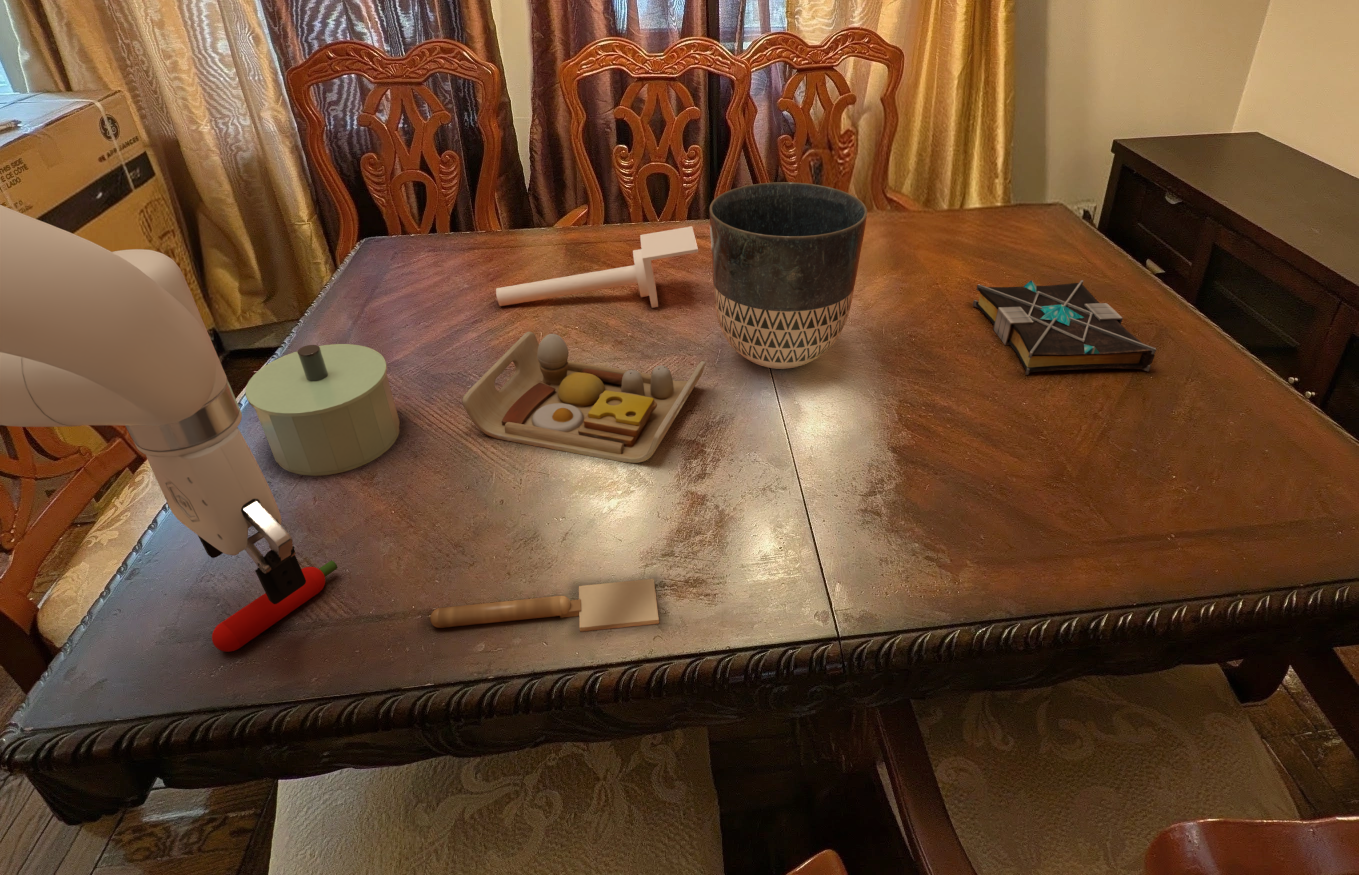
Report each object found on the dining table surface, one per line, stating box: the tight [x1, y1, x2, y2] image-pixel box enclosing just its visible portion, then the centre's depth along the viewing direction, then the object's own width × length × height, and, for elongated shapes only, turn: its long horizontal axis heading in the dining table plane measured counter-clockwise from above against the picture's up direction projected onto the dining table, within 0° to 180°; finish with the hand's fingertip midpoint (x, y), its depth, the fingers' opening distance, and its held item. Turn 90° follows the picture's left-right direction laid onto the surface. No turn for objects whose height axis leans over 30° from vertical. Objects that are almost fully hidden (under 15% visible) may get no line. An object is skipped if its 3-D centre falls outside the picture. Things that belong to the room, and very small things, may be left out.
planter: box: [708, 181, 868, 370], centre depth 106 cm, size 20×20×21 cm
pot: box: [254, 373, 401, 477], centre depth 96 cm, size 15×15×8 cm
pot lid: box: [245, 343, 388, 417], centre depth 92 cm, size 15×15×5 cm
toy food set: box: [461, 331, 707, 464], centre depth 100 cm, size 25×18×8 cm
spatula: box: [429, 578, 660, 633], centre depth 74 cm, size 21×5×2 cm, turn 97°
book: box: [972, 279, 1157, 376], centre depth 114 cm, size 22×17×5 cm
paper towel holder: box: [495, 225, 699, 309], centre depth 126 cm, size 9×9×32 cm
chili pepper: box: [211, 560, 338, 653], centre depth 74 cm, size 12×3×3 cm, turn 145°
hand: (257, 569), depth 72 cm, fingers open, 9 cm apart
